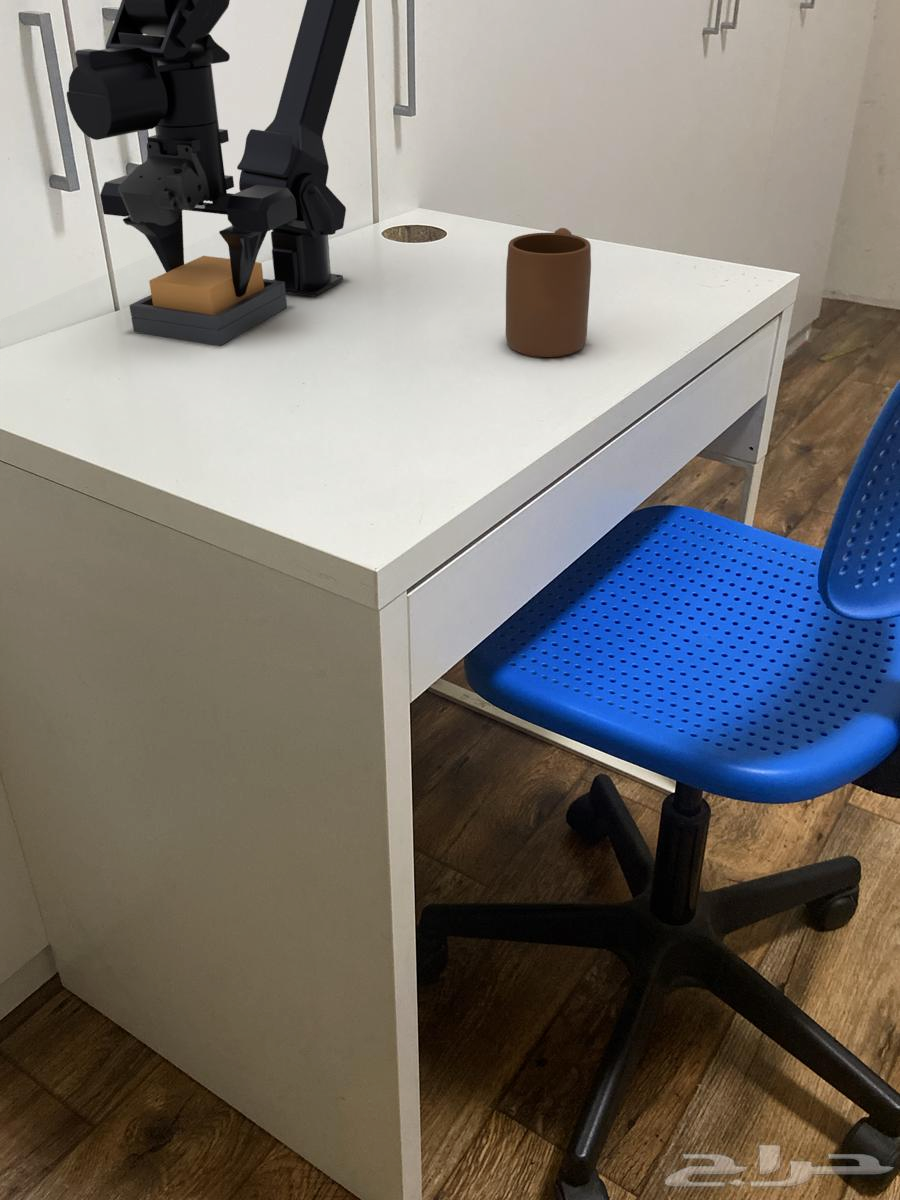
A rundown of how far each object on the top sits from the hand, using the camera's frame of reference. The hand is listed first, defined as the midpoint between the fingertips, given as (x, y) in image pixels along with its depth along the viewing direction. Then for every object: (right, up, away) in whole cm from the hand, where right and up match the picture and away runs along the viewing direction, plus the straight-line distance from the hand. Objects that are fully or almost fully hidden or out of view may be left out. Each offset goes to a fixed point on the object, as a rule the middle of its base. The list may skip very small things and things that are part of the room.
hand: (209, 291), depth 108 cm
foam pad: (0, -1, +1) cm, 1 cm away
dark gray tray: (0, -2, +2) cm, 3 cm away
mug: (+33, -6, -4) cm, 34 cm away
